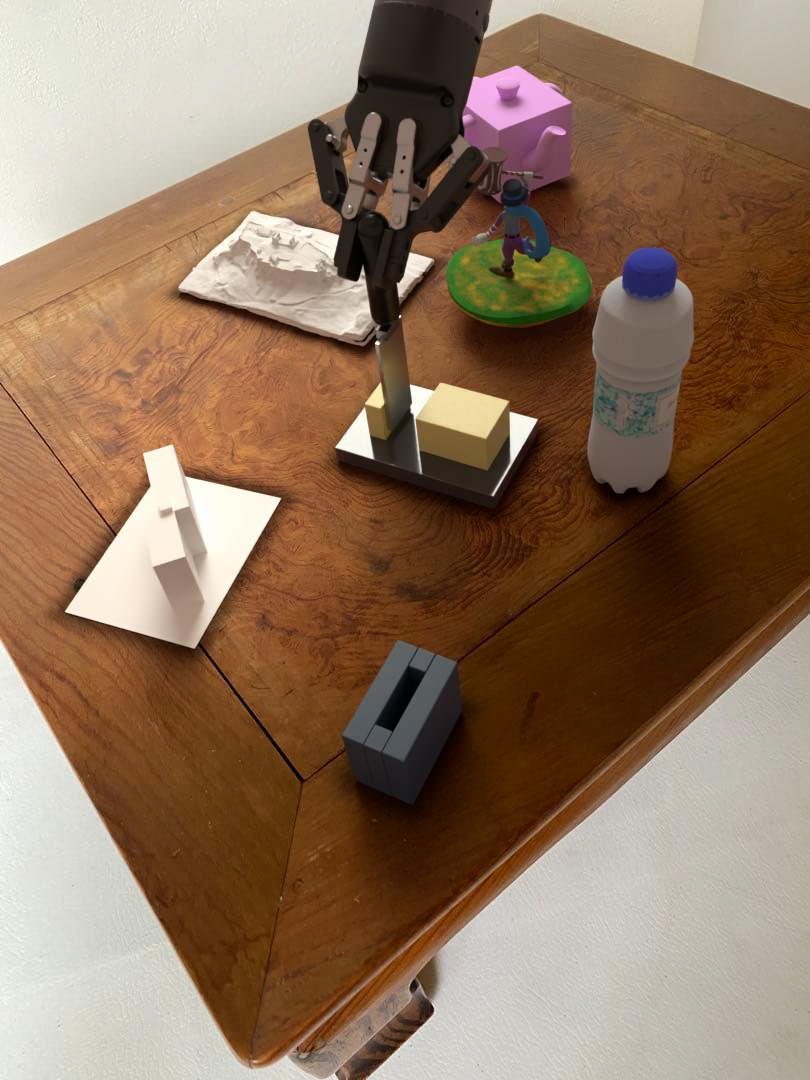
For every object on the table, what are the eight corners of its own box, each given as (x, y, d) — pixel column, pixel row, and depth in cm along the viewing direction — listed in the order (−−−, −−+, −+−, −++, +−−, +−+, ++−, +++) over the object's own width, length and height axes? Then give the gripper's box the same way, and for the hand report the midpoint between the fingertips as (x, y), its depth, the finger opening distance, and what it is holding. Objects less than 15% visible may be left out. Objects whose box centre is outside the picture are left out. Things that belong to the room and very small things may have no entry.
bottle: (659, 512, 75) (695, 295, 59) (573, 492, 77) (585, 278, 61) (679, 450, 78) (717, 231, 63) (595, 433, 80) (612, 217, 65)
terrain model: (382, 362, 90) (377, 318, 86) (164, 311, 96) (150, 268, 92) (445, 254, 99) (444, 210, 95) (242, 213, 105) (233, 170, 101)
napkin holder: (158, 470, 83) (138, 421, 78) (282, 496, 79) (267, 446, 75) (63, 613, 74) (34, 567, 70) (197, 649, 71) (175, 603, 66)
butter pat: (410, 404, 82) (406, 372, 80) (385, 440, 80) (380, 409, 77) (394, 400, 83) (390, 368, 80) (369, 435, 81) (363, 404, 78)
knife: (422, 405, 81) (398, 202, 67) (402, 435, 80) (373, 232, 65) (398, 399, 82) (369, 196, 68) (378, 427, 80) (344, 225, 66)
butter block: (510, 432, 79) (509, 400, 77) (487, 471, 77) (486, 439, 74) (442, 413, 81) (440, 381, 79) (418, 450, 79) (414, 418, 76)
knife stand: (462, 709, 66) (458, 661, 61) (413, 805, 62) (403, 762, 57) (406, 687, 67) (397, 639, 63) (354, 780, 63) (340, 735, 59)
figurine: (617, 291, 92) (631, 139, 80) (545, 371, 86) (548, 219, 74) (492, 248, 98) (488, 100, 86) (416, 320, 92) (400, 172, 80)
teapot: (613, 196, 101) (621, 99, 93) (497, 243, 98) (495, 148, 90) (518, 124, 112) (517, 32, 104) (410, 165, 109) (401, 73, 101)
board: (538, 432, 81) (538, 419, 80) (494, 509, 76) (493, 496, 75) (387, 390, 86) (385, 377, 85) (337, 460, 81) (334, 447, 80)
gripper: (311, -15, 64) (252, 253, 67) (509, 8, 59) (435, 296, 62) (361, 32, 71) (305, 273, 74) (541, 56, 66) (474, 313, 69)
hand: (365, 282), depth 68 cm, fingers closed on knife, 2 cm apart
